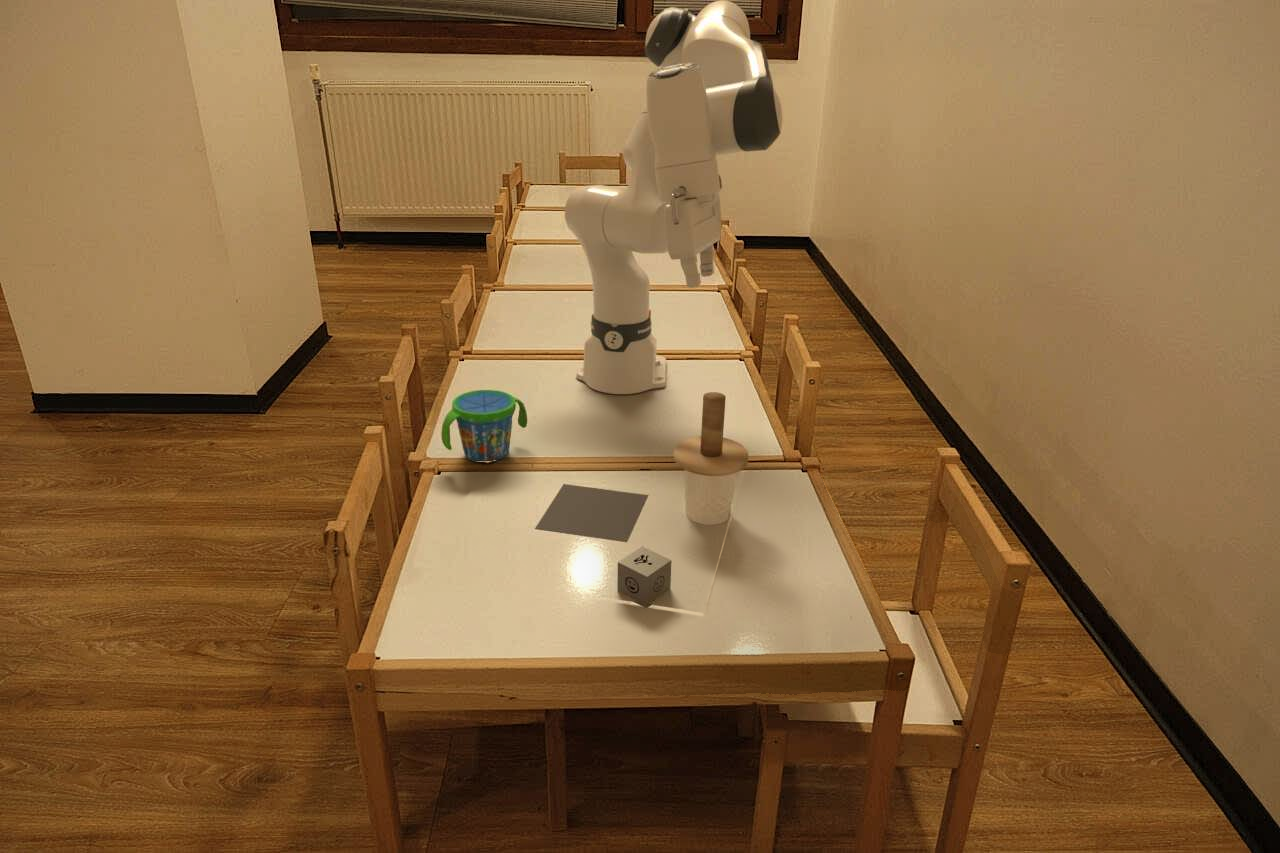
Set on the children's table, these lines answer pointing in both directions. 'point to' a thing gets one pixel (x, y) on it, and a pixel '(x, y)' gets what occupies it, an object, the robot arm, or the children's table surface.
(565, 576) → the children's table surface
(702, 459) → the lid
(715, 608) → the children's table surface
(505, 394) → the snack cup
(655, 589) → the dice cube
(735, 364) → the children's table surface
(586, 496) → the mat
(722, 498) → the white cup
